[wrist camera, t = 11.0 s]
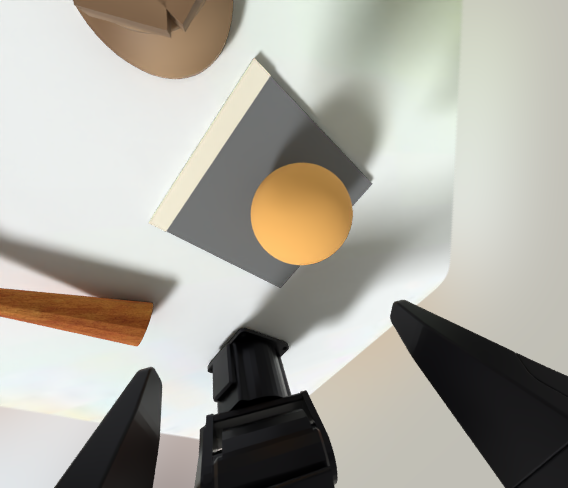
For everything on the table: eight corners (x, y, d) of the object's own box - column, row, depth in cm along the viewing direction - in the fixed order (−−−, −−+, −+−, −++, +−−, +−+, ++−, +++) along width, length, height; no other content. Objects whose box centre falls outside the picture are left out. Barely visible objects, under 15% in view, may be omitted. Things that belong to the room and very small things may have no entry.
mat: (149, 220, 16) (148, 223, 16) (253, 59, 14) (254, 57, 13) (279, 285, 22) (280, 288, 22) (369, 182, 20) (373, 184, 19)
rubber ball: (322, 215, 20) (376, 168, 15) (312, 287, 17) (375, 261, 12) (252, 185, 19) (284, 119, 13) (228, 259, 16) (257, 214, 10)
